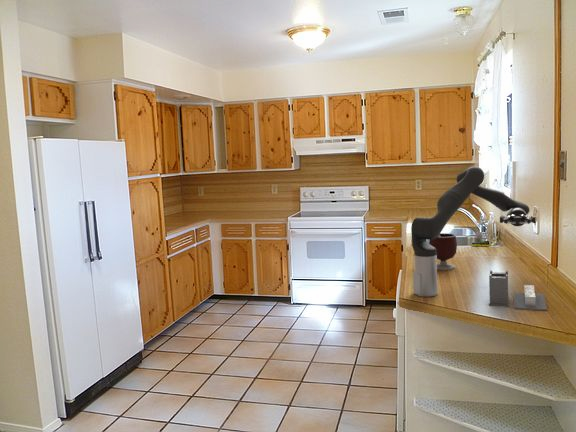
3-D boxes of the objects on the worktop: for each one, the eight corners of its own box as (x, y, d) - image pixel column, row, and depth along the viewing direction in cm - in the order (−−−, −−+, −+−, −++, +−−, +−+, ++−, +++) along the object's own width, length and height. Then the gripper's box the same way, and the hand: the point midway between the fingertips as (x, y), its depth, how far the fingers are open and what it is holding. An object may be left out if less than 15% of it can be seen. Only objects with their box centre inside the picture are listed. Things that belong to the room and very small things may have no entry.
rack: (490, 297, 203) (489, 269, 202) (508, 299, 200) (508, 270, 199) (488, 305, 193) (488, 275, 192) (508, 306, 190) (508, 276, 189)
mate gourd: (438, 263, 272) (437, 227, 270) (462, 266, 262) (461, 228, 260) (423, 268, 261) (422, 231, 259) (447, 271, 251) (446, 232, 249)
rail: (524, 293, 205) (524, 284, 204) (533, 293, 203) (533, 285, 203) (525, 305, 189) (525, 296, 188) (535, 306, 187) (535, 297, 187)
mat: (514, 293, 206) (514, 292, 206) (543, 295, 202) (543, 294, 202) (514, 308, 187) (514, 307, 187) (547, 310, 183) (547, 309, 183)
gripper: (500, 208, 228) (499, 212, 214) (535, 208, 222) (536, 212, 207) (500, 225, 229) (499, 230, 214) (535, 225, 223) (536, 230, 208)
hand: (517, 221), depth 211 cm, fingers open, 8 cm apart
